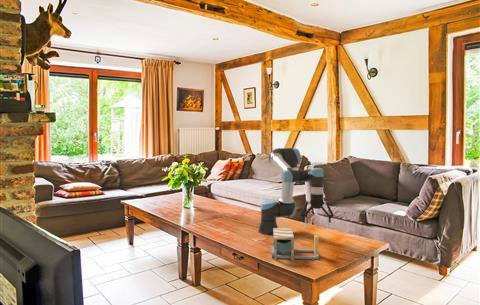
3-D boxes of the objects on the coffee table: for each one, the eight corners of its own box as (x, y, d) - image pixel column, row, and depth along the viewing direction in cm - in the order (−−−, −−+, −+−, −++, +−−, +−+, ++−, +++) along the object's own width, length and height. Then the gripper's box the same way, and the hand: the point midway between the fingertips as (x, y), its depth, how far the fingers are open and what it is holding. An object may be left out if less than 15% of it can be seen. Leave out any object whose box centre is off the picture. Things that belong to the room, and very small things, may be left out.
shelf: (273, 249, 234) (273, 228, 233) (291, 249, 233) (291, 228, 232) (273, 259, 215) (273, 237, 214) (293, 260, 214) (294, 237, 213)
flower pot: (273, 254, 224) (273, 240, 223) (282, 251, 230) (282, 237, 229) (284, 258, 217) (284, 243, 217) (293, 254, 224) (293, 240, 223)
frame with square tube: (271, 250, 231) (271, 231, 230) (316, 251, 229) (316, 232, 228) (271, 257, 217) (272, 238, 217) (319, 259, 215) (319, 239, 214)
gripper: (296, 194, 217) (296, 229, 218) (339, 194, 215) (338, 229, 216) (295, 192, 224) (295, 225, 225) (336, 192, 222) (336, 226, 223)
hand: (316, 227), depth 221 cm, fingers open, 13 cm apart
